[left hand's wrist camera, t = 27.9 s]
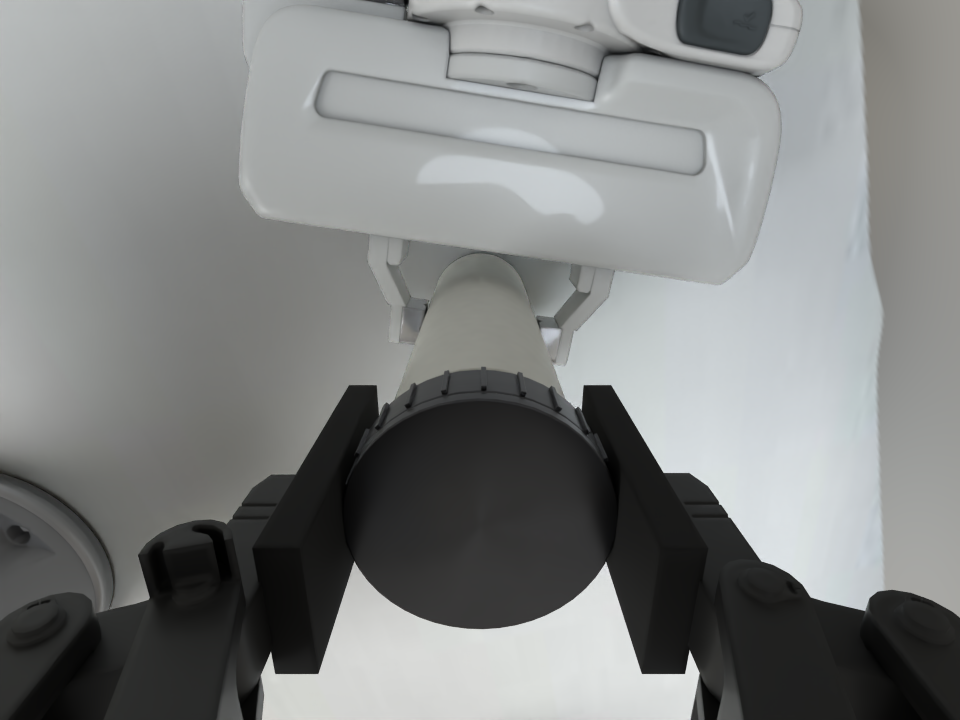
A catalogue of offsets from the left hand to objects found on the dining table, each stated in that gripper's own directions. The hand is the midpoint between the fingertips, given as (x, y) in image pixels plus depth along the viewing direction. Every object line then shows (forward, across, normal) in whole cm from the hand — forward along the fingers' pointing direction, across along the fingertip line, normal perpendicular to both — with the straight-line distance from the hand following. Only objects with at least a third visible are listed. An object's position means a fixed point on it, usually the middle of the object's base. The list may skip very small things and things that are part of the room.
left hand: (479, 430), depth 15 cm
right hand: (+9, 0, -1) cm, 9 cm away
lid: (-4, 0, 0) cm, 4 cm away
